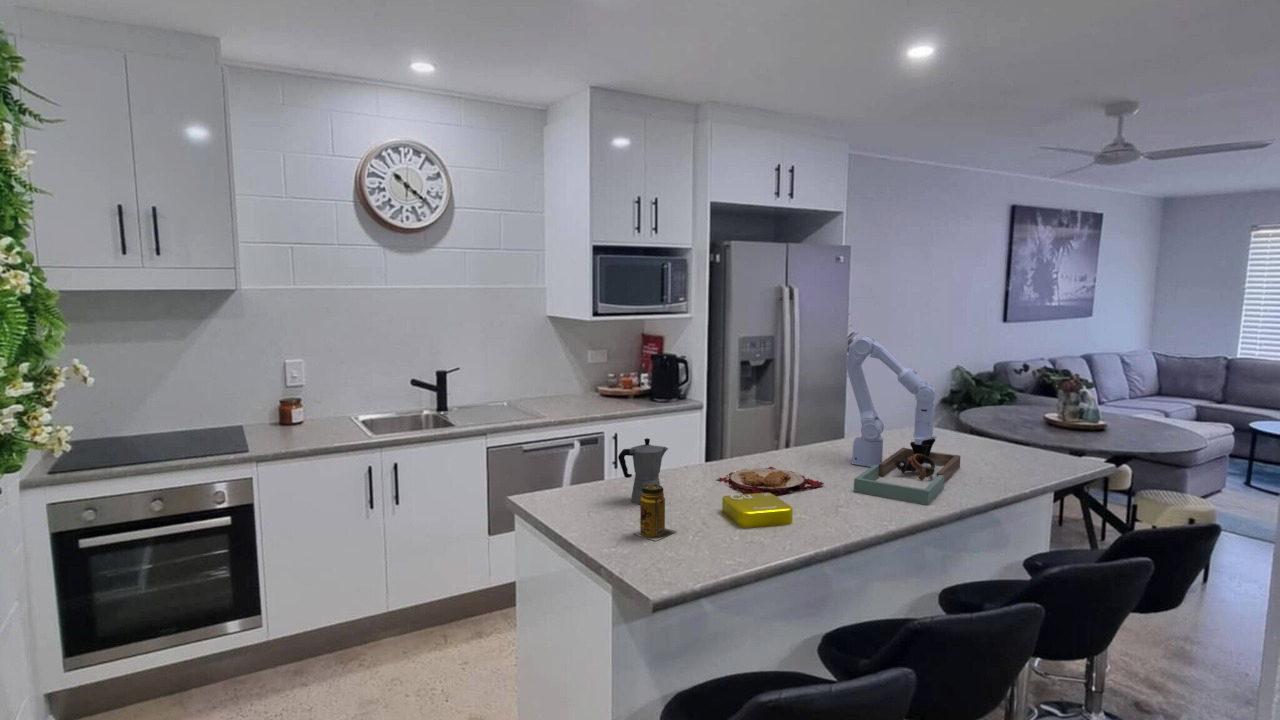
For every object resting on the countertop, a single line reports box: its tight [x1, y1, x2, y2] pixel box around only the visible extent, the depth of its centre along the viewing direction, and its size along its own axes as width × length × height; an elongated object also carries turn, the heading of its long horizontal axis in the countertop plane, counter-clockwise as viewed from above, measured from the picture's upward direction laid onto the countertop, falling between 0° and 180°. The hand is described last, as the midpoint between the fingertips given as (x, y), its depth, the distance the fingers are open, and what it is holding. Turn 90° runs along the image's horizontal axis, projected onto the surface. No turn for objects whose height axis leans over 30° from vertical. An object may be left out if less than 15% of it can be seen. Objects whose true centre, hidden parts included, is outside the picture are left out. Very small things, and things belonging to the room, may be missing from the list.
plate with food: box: [715, 466, 825, 497], centre depth 214 cm, size 25×26×4 cm
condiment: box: [634, 484, 677, 542], centre depth 169 cm, size 7×8×12 cm
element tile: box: [721, 493, 794, 529], centre depth 182 cm, size 15×15×5 cm
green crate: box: [853, 465, 945, 506], centre depth 207 cm, size 21×20×4 cm
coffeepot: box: [617, 437, 669, 506], centre depth 194 cm, size 15×9×18 cm, turn 116°
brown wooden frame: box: [878, 447, 961, 484], centre depth 227 cm, size 19×28×4 cm
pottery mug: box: [895, 454, 936, 481], centre depth 221 cm, size 12×10×8 cm
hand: (921, 461), depth 229 cm, fingers open, 6 cm apart
